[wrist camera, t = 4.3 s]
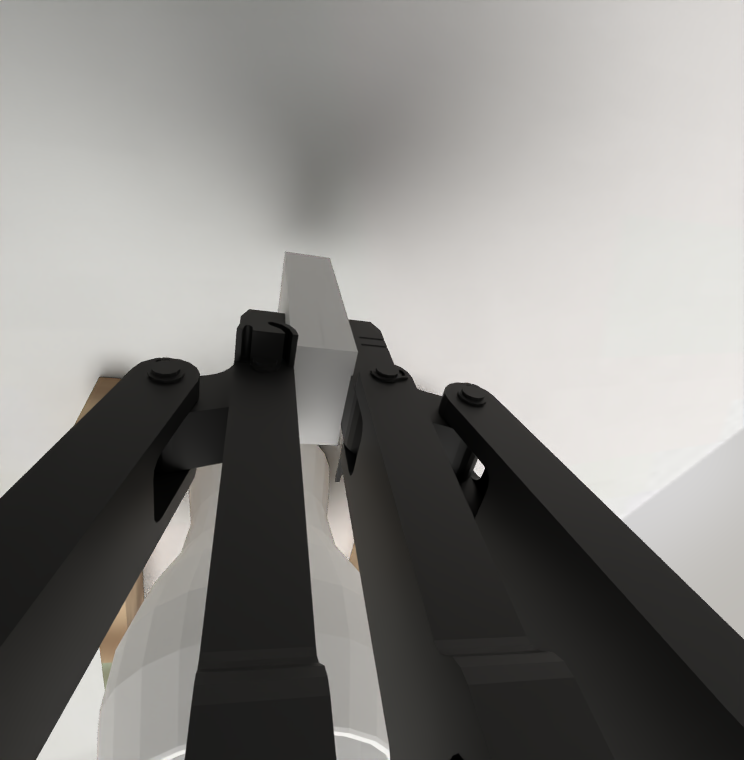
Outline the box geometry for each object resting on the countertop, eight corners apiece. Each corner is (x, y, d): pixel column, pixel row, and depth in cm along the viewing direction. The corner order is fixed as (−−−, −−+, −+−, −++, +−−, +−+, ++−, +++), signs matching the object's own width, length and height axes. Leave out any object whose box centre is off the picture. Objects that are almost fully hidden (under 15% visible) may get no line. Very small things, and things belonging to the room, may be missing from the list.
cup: (134, 418, 25) (3, 777, 13) (343, 385, 26) (412, 685, 14) (192, 553, 31) (141, 888, 19) (360, 522, 32) (419, 817, 20)
